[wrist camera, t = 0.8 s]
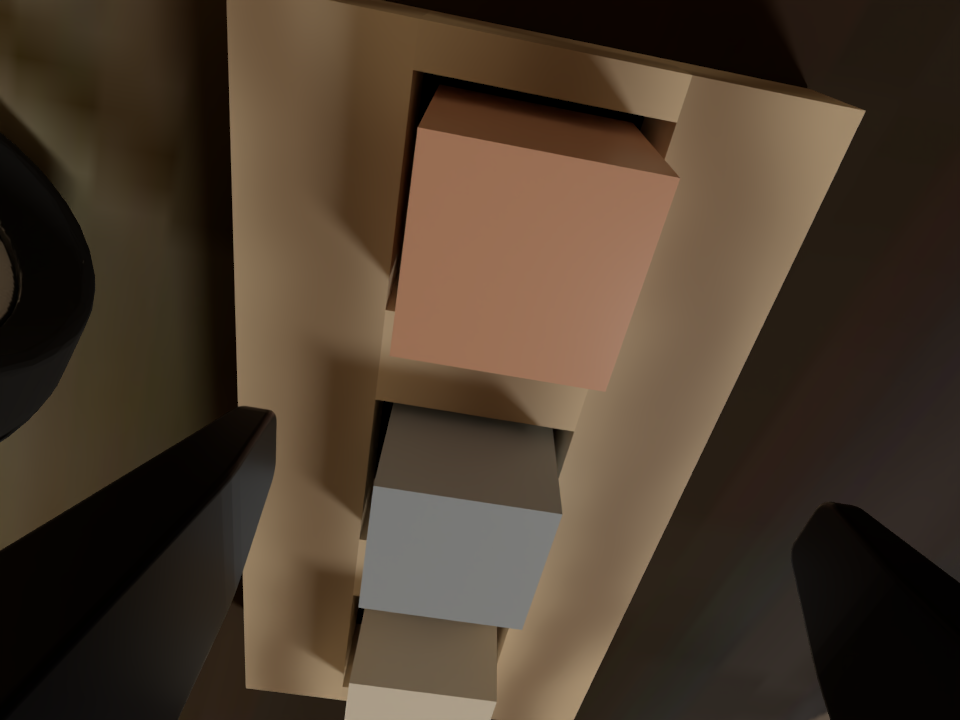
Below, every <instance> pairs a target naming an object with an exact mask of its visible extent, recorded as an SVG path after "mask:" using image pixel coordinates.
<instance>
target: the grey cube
mask: <svg viewBox="0 0 960 720" xmlns="http://www.w3.org/2000/svg"><path fill="white" fill-rule="evenodd" d="M561 517H562V505H561V497H560V488H559V480H558V471H557V463H556V454H555V445H554V437H553V428H549V427H543V426H537V425H531V424H525V423H518V422H512V421H506V420H500V419H493V418H487V417H481V416H475V415H469V414H462V413H456V412H450V411H444V410H437V409H431V408H425V407H419V406H413V405H406V404H400V403H393V407H392V411H391V415H390V419H389V424H388V428H387V432H386V436H385V440H384V444H383V448H382V453H381V457H380V461H379V465H378V469H377V473H376V477H375V482H374V486H373V494H372V502H371V510H370V518H369V526H368V534H367V542H366V550H365V558H364V566H363V575H362V583H361V591H360V599H359V607H358V608H365V609H372V610H380V611H387V612H394V613H402V614H409V615H416V616H424V617H431V618H438V619H446V620H453V621H460V622H468V623H475V624H482V625H490V626H497V627H504V628H512V629H519V630H522V629H523V626H524V623H525V620H526V617H527V614H528V611H529V609H530V606H531V603H532V600H533V597H534V594H535V591H536V589H537V586H538V583H539V580H540V577H541V574H542V572H543V569H544V566H545V563H546V560H547V557H548V554H549V552H550V549H551V546H552V543H553V540H554V537H555V534H556V532H557V529H558V526H559V523H560V520H561Z"/></svg>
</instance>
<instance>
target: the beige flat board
mask: <svg viewBox="0 0 960 720" xmlns="http://www.w3.org/2000/svg"><path fill="white" fill-rule="evenodd" d="M227 33H228V68H229V104H230V139H231V175H232V210H233V245H234V281H235V316H236V352H237V387H238V407H239V406H251V407H257V408H263V409H269V410H272V411H273V412H274V413H275V415H276V419H277V432H276V465H275V472H274V476H273V480H272V483H271V487H270V490H269V493H268V496H267V499H266V502H265V505H264V508H263V511H262V514H261V517H260V520H259V523H258V526H257V530H256V533H255V536H254V539H253V542H252V545H251V548H250V551H249V554H248V557H247V560H246V563H245V566H244V569H243V599H244V635H245V670H246V688H250V689H258V690H266V691H274V692H281V693H289V694H297V695H305V696H313V697H321V698H329V699H337V700H345V701H347V696H348V688H349V681H350V676H351V672H352V667H353V662H354V657H355V652H356V648H357V643H358V638H359V633H360V629H361V624H357V623H356V621H357V613H358V605H359V596H360V591H361V583H362V575H363V566H364V558H365V550H366V542H367V534H368V526H369V518H370V510H371V502H372V494H373V486H374V482H375V479H374V475H375V467H376V458H377V450H378V442H379V434H380V426H381V418H382V410H383V402H384V401H388V402H394V403H400V404H406V405H413V406H419V407H425V408H431V409H437V410H444V411H450V412H456V413H462V414H469V415H475V416H481V417H487V418H493V419H500V420H506V421H512V422H518V423H525V424H531V425H537V426H543V427H549V428H553V437H554V445H555V454H556V463H557V471H558V480H559V488H560V497H561V505H562V517H561V520H560V523H559V526H558V529H557V532H556V534H555V537H554V540H553V543H552V546H551V549H550V552H549V554H548V557H547V560H546V563H545V566H544V569H543V572H542V574H541V577H540V580H539V583H538V586H537V589H536V591H535V594H534V597H533V600H532V603H531V606H530V609H529V611H528V614H527V617H526V620H525V623H524V626H523V629H522V630H519V629H512V628H504V627H497V703H496V706H495V708H494V711H493V714H492V717H491V719H497V720H574V718H575V716H576V714H577V711H578V709H579V707H580V705H581V703H582V701H583V699H584V697H585V695H586V693H587V691H588V689H589V686H590V684H591V682H592V680H593V678H594V676H595V674H596V672H597V670H598V668H599V666H600V664H601V661H602V659H603V657H604V655H605V653H606V651H607V649H608V647H609V645H610V643H611V641H612V639H613V636H614V634H615V632H616V630H617V628H618V626H619V624H620V622H621V620H622V618H623V616H624V613H625V611H626V609H627V607H628V605H629V603H630V601H631V599H632V597H633V595H634V593H635V591H636V588H637V586H638V584H639V582H640V580H641V578H642V576H643V574H644V572H645V570H646V568H647V566H648V563H649V561H650V559H651V557H652V555H653V553H654V551H655V549H656V547H657V545H658V543H659V541H660V538H661V536H662V534H663V532H664V530H665V528H666V526H667V524H668V522H669V520H670V518H671V516H672V513H673V511H674V509H675V507H676V505H677V503H678V501H679V499H680V497H681V495H682V493H683V490H684V488H685V486H686V484H687V482H688V480H689V478H690V476H691V474H692V472H693V470H694V468H695V465H696V463H697V461H698V459H699V457H700V455H701V453H702V451H703V449H704V447H705V445H706V443H707V440H708V438H709V436H710V434H711V432H712V430H713V428H714V426H715V424H716V422H717V420H718V418H719V415H720V413H721V411H722V409H723V407H724V405H725V403H726V401H727V399H728V397H729V395H730V392H731V390H732V388H733V386H734V384H735V382H736V380H737V378H738V376H739V374H740V372H741V370H742V367H743V365H744V363H745V361H746V359H747V357H748V355H749V353H750V351H751V349H752V347H753V345H754V342H755V340H756V338H757V336H758V334H759V332H760V330H761V328H762V326H763V324H764V322H765V320H766V317H767V315H768V313H769V311H770V309H771V307H772V305H773V303H774V301H775V299H776V297H777V295H778V292H779V290H780V288H781V286H782V284H783V282H784V280H785V278H786V276H787V274H788V272H789V269H790V267H791V265H792V263H793V261H794V259H795V257H796V255H797V253H798V251H799V249H800V247H801V244H802V242H803V240H804V238H805V236H806V234H807V232H808V230H809V228H810V226H811V224H812V222H813V219H814V217H815V215H816V213H817V211H818V209H819V207H820V205H821V203H822V201H823V199H824V197H825V194H826V192H827V190H828V188H829V186H830V184H831V182H832V180H833V178H834V176H835V174H836V171H837V169H838V167H839V165H840V163H841V161H842V159H843V157H844V155H845V153H846V151H847V149H848V146H849V144H850V142H851V140H852V138H853V136H854V134H855V132H856V130H857V128H858V126H859V124H860V121H861V119H862V117H863V115H864V113H865V111H864V110H862V109H859V108H857V107H854V106H852V105H849V104H847V103H844V102H841V101H839V100H836V99H834V98H831V97H829V96H826V95H824V94H821V93H819V92H816V91H813V90H811V89H808V88H803V87H798V86H793V85H788V84H784V83H779V82H774V81H769V80H764V79H759V78H755V77H750V76H745V75H740V74H735V73H731V72H726V71H721V70H716V69H711V68H706V67H702V66H697V65H692V64H687V63H682V62H678V61H673V60H668V59H663V58H658V57H653V56H649V55H644V54H639V53H634V52H629V51H625V50H620V49H615V48H610V47H605V46H600V45H596V44H591V43H586V42H581V41H576V40H572V39H567V38H562V37H557V36H552V35H547V34H543V33H538V32H533V31H528V30H523V29H519V28H514V27H509V26H504V25H499V24H494V23H490V22H485V21H480V20H475V19H470V18H466V17H461V16H456V15H451V14H446V13H441V12H437V11H432V10H427V9H422V8H417V7H413V6H408V5H403V4H398V3H393V2H388V1H384V0H227ZM424 72H426V73H431V74H436V75H441V76H446V77H451V78H456V79H461V80H466V81H471V82H476V83H481V84H486V85H491V86H496V87H501V88H506V89H511V90H516V91H521V92H526V93H531V94H536V95H541V96H546V97H551V98H556V99H561V100H566V101H571V102H576V103H581V104H586V105H591V106H596V107H601V108H606V109H611V110H616V111H621V112H626V113H631V114H636V115H641V116H644V120H643V123H642V126H641V130H640V132H641V133H642V134H643V135H644V136H645V138H646V139H647V140H648V141H649V142H650V143H651V145H652V146H653V147H654V148H655V149H656V150H657V152H658V153H659V154H660V155H661V156H662V157H663V159H664V160H665V161H666V162H667V163H668V164H669V165H670V167H671V168H672V169H673V170H674V171H675V172H676V174H677V175H678V176H679V177H680V181H679V184H678V186H677V189H676V192H675V195H674V198H673V201H672V204H671V206H670V209H669V212H668V215H667V218H666V221H665V223H664V226H663V229H662V232H661V235H660V238H659V241H658V243H657V246H656V249H655V252H654V255H653V258H652V261H651V263H650V266H649V269H648V272H647V275H646V278H645V281H644V283H643V286H642V289H641V292H640V295H639V298H638V301H637V303H636V306H635V309H634V312H633V315H632V318H631V320H630V323H629V326H628V329H627V332H626V335H625V338H624V340H623V343H622V346H621V349H620V352H619V355H618V358H617V360H616V363H615V366H614V369H613V372H612V375H611V378H610V380H609V383H608V386H607V389H606V392H603V391H597V390H591V389H585V388H579V387H573V386H567V385H561V384H555V383H549V382H543V381H537V380H531V379H525V378H519V377H513V376H507V375H501V374H495V373H489V372H483V371H477V370H471V369H465V368H459V367H453V366H447V365H441V364H435V363H429V362H423V361H417V360H411V359H405V358H399V357H393V356H390V348H391V340H392V332H393V324H394V316H395V307H396V299H397V291H398V283H399V275H400V267H401V265H400V264H401V256H402V247H403V239H404V231H405V223H406V215H407V207H408V199H409V191H410V183H411V174H412V166H413V158H414V150H415V142H416V134H417V126H418V118H419V109H420V101H421V93H422V85H423V77H424Z"/></svg>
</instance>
